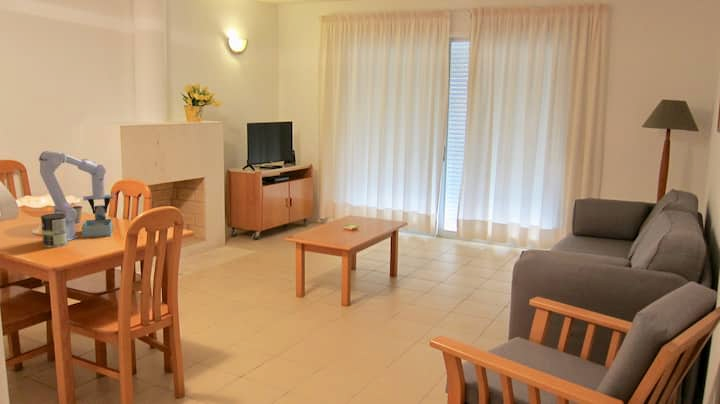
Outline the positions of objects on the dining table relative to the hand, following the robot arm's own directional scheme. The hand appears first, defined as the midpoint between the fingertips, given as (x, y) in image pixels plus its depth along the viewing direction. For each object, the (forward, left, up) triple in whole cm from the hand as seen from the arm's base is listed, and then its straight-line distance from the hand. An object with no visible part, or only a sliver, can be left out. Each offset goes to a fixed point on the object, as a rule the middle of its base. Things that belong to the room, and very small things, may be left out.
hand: (99, 213), depth 303 cm
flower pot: (+18, +27, -10) cm, 34 cm away
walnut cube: (-7, -3, -9) cm, 12 cm away
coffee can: (-29, +5, -10) cm, 32 cm away
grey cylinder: (-1, -1, -3) cm, 3 cm away
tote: (-3, -1, -10) cm, 10 cm away
